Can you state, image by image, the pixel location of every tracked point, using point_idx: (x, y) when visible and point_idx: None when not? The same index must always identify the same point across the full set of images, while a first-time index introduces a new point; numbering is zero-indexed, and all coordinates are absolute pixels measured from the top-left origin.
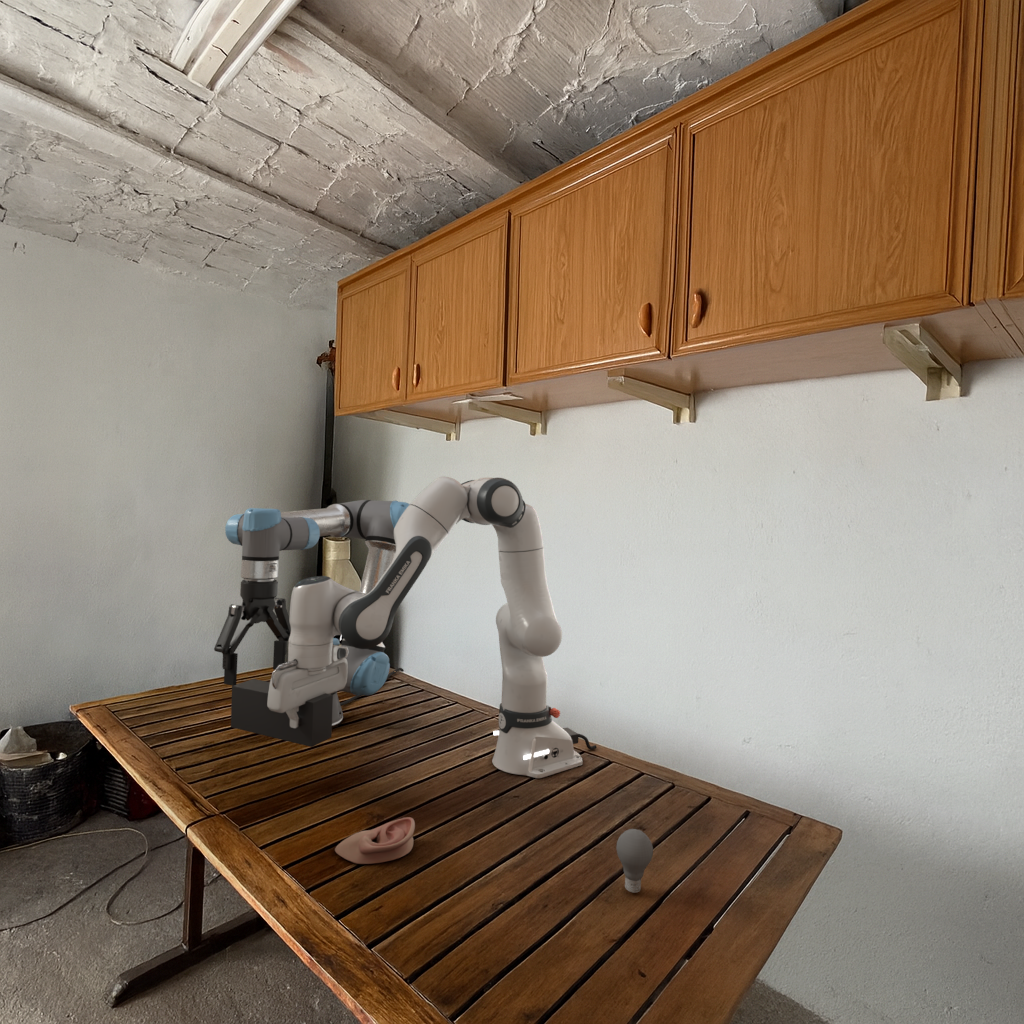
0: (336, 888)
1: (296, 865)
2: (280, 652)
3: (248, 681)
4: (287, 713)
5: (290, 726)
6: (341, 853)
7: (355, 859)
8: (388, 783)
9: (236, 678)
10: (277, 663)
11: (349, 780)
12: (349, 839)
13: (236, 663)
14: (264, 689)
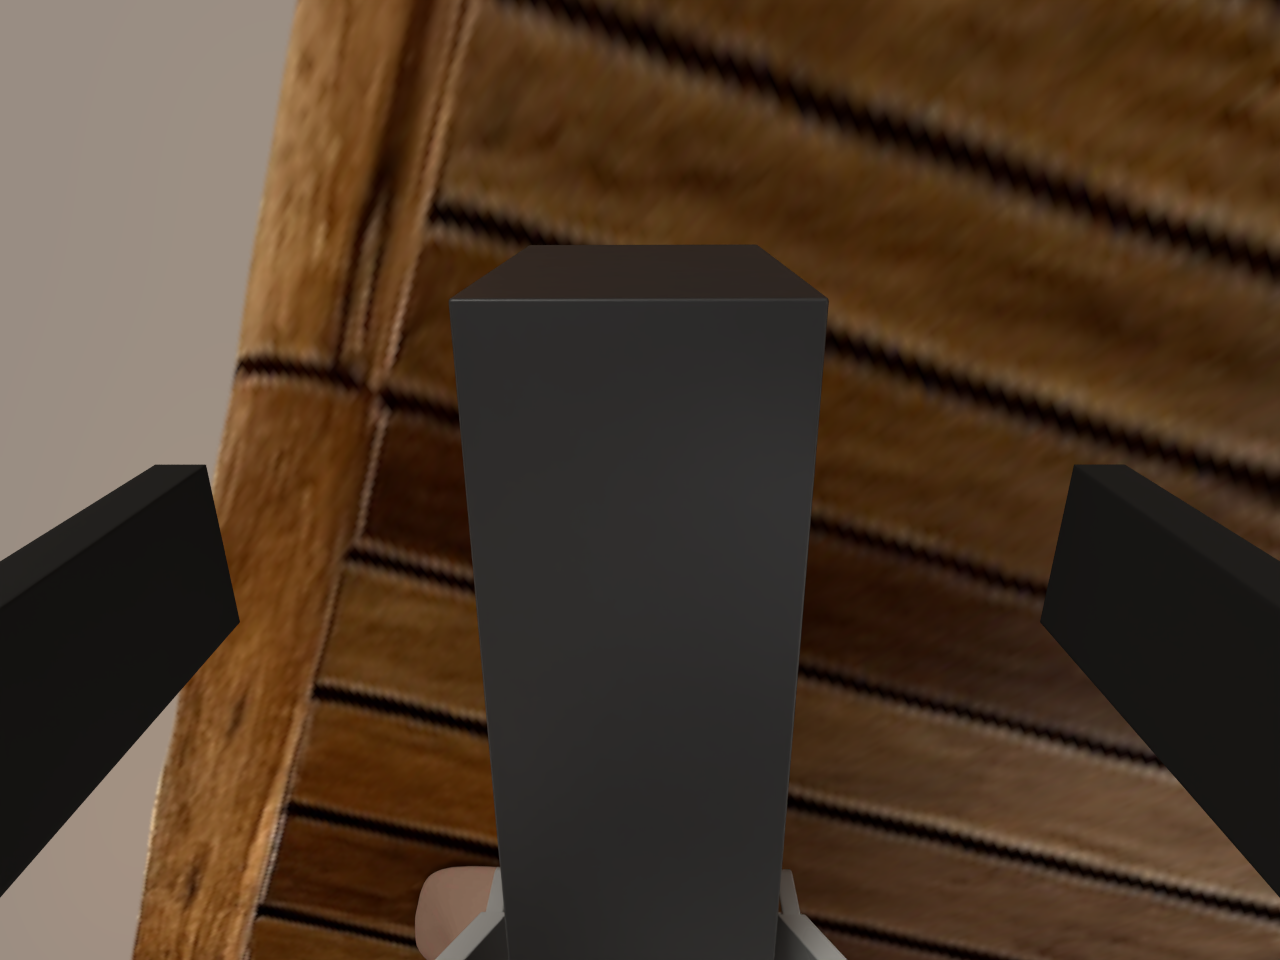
0: (313, 952)
1: (319, 826)
2: (1226, 772)
3: (697, 336)
4: (445, 956)
5: (496, 870)
6: (421, 904)
7: (419, 947)
8: (918, 767)
9: (195, 671)
10: (1114, 589)
11: (880, 636)
12: (468, 909)
13: (27, 845)
14: (562, 701)
